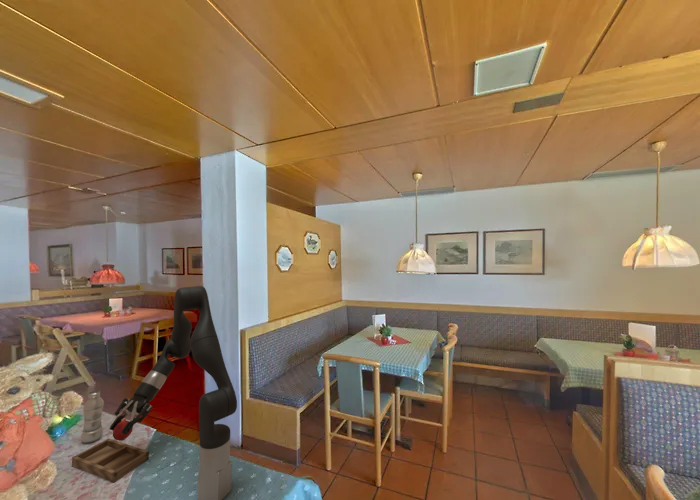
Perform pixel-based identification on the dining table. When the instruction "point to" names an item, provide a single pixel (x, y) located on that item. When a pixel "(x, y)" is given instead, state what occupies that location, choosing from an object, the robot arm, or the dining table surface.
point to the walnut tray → (110, 459)
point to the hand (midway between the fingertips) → (117, 431)
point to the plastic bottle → (92, 417)
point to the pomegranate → (119, 428)
